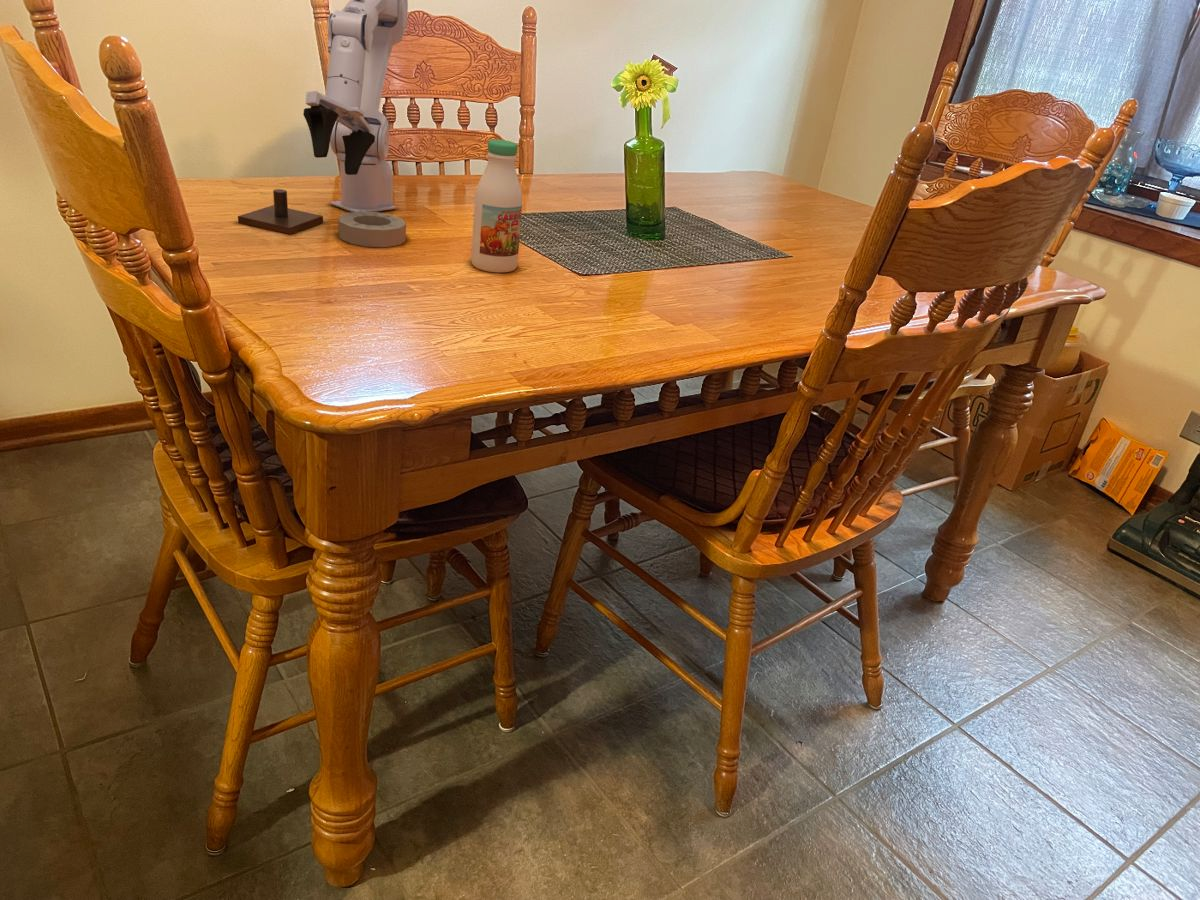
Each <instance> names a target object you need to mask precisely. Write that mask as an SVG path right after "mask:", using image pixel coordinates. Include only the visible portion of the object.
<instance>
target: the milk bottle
mask: <svg viewBox="0 0 1200 900" xmlns="http://www.w3.org/2000/svg"><path fill="white" fill-rule="evenodd" d="M517 154H518V144H517V143H516V142H514V141H511V140H505V139H490V140H489V141H488V143H487V154H486V155H487V156H488V160H487V164H486V166H485V169H484V172H483V174H482V175H481V178H480V179H479V181H478V184H477V186H476V191H475V195H474V206H473V207H474V208H473V219H472V237H471V257H470V261H471V264H472V266H473V267H474V268H476V269H478V270H482V271H484V272H486V271H487V272H489V273H508V272H514V271H515V270H516V269H517V267H518V262H519V261H518V260H519V252H520V251H519V250H520V237H521V226H522V213H523V191H522V187H521V183H520V180H519V177H518V175H517V174H518V173H517V170H516V163H515V162H516V159H517Z"/></svg>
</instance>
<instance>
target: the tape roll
mask: <svg viewBox="0 0 1200 900" xmlns="http://www.w3.org/2000/svg"><path fill="white" fill-rule="evenodd" d="M337 219H338V221H337V222H338V223H337V224H338V225H337V226H338V228H337V229H338V236H339V239H340V240H342V241H343V242H345V243H348V244H350V245H355V246H361V247H365V248H391V247H397V246H400V245H402V244H404V243H405V242H406V241H407V224H406V222H405V220H404V219H403V218H401V217H399V216H397V215H394V214H389V213H384V212H380V211H377V212H361V211H360V212H345V213H343V214H341V215H339V216H338V217H337Z"/></svg>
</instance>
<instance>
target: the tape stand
mask: <svg viewBox="0 0 1200 900" xmlns="http://www.w3.org/2000/svg"><path fill="white" fill-rule="evenodd" d="M272 195H273V197H272V198H273V205H269V206H266V207H263V208H259V209H256V210H253V211H249V212H246V213H243V214H240V215H237V223H238V224H241V225H246V226H251V227H255V228H259V229H264V230H268V231H273V232H278V233H282V234H285V235H293V234H296V233H298V232H301V231H304V230H307V229H310V228H313V227H315V226H317V225H320V224H323V223H324V215H321V214H317V213H311V212H307V211H302V210H297V209H293V208H289V205H288V191H287V190H286V189H283V188H279V189H278V188H276V189H275V188H274V189H273V190H272Z"/></svg>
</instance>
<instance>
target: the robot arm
mask: <svg viewBox="0 0 1200 900" xmlns="http://www.w3.org/2000/svg"><path fill="white" fill-rule="evenodd" d="M408 2H409V1H408V0H349V1H348V2H347V3H346V5H345V6H344V7H343V8H342V9H341V10H337V9H336V10H334V12H330V13H329V15H328V18H327V53H328V54H329V56H328V67H327V76H326V85H325V93H324V94H322V93H321V92H319V91H317V90H312V91H306V93H305V104H306V105H307V106H308V107H306V108H303V114H302V115H303V117H304V119H305V121H306V124H307V127H308V130H309V133H310V138H311V144H312V151H313V157H314V158H316V159H318V158H319V159H320V158H327V157H328V154H329V150H330V149H331V152H333V154H334V155H336V156H337V160H339V170H340V171H339V173H340V174H339V176H340V177H339V179H340V200H333V201H330V205H331V206H334V207H337V208H340V209H343V210H345V211H348V212H349V213H351V212H360V211H361V212H383V211H389V210H391V211H392V210H396V208H397V206H396V205H394V173H393V169H392V167H391V164H389V162H388V161H387V160H385V159H387V157H388V154H389V149H390V135H391V132H390V131H391V130H390V123H389V121H388V118H387V116H385V114H384V113H382V112H381V111H380V105H381V101H382V96H383V89H384V85H385V81H386V80H385V79H386V76H387V69H388V65H389V60H390V56H391V53H392V51H393V48H394V46H396V45H397V44H400V42H403V37H404V36H405V31H406V26H407V22H408V21H407V20H408V12H409V11H408V10H409V9H408V7H409V6H408V5H409V4H408Z"/></svg>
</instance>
